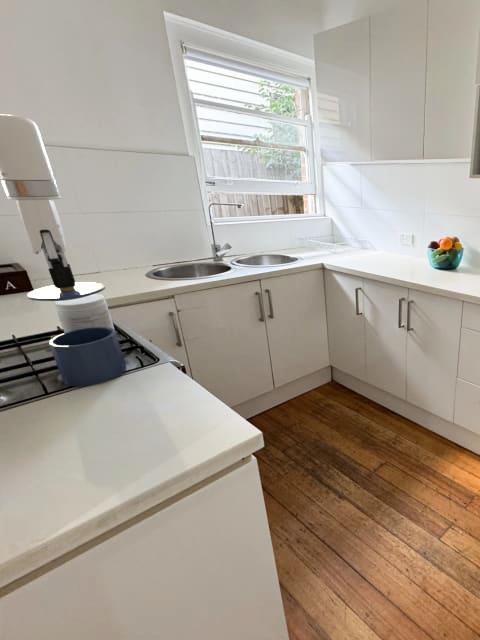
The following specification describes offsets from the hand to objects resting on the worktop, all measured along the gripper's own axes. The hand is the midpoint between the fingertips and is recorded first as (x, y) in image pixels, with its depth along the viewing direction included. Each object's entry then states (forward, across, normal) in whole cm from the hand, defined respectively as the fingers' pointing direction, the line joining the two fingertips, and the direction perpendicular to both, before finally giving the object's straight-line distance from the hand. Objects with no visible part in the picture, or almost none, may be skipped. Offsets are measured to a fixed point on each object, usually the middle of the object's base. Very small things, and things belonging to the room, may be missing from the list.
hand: (65, 284), depth 79 cm
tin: (+21, 0, 0) cm, 21 cm away
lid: (+2, 0, 0) cm, 2 cm away
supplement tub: (+22, -14, +1) cm, 25 cm away
